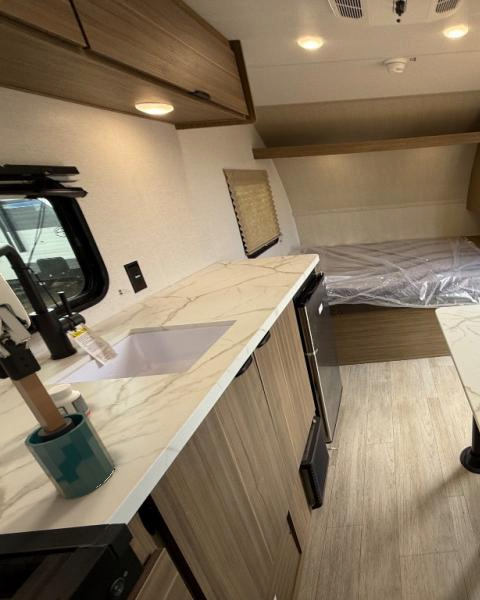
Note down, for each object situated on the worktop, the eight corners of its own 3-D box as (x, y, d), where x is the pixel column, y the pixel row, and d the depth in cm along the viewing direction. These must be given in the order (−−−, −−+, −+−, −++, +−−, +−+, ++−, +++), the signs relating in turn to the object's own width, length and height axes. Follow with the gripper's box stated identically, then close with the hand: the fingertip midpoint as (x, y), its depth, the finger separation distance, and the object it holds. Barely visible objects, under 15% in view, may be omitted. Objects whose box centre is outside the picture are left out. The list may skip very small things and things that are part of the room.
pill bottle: (88, 409, 76) (71, 378, 72) (94, 417, 73) (76, 385, 70) (58, 423, 72) (38, 391, 68) (63, 432, 69) (42, 399, 66)
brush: (49, 461, 53) (-27, 348, 45) (76, 442, 57) (10, 335, 49) (66, 464, 53) (-8, 350, 44) (93, 445, 56) (28, 336, 48)
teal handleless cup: (50, 495, 55) (12, 443, 50) (96, 459, 61) (67, 410, 57) (81, 502, 53) (45, 449, 48) (125, 464, 60) (97, 414, 55)
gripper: (-138, 265, 40) (-49, 385, 47) (-58, 265, 36) (26, 395, 43) (-49, 250, 47) (17, 357, 54) (26, 249, 43) (87, 364, 50)
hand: (20, 373), depth 48 cm, fingers closed on brush, 2 cm apart
